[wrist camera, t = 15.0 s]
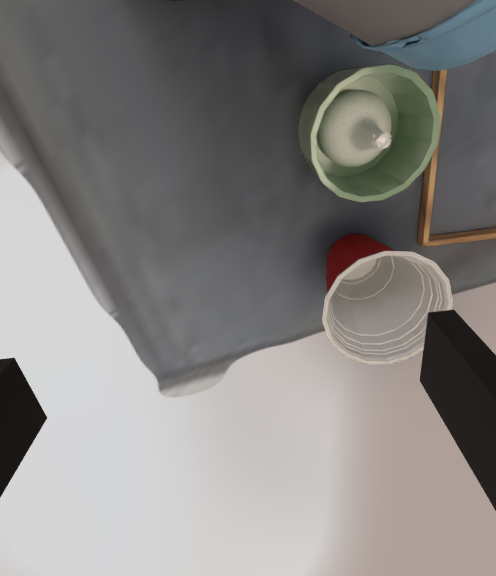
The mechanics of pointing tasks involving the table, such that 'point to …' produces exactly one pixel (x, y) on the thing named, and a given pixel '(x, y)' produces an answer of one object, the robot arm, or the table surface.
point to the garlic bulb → (355, 128)
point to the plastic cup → (380, 300)
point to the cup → (404, 130)
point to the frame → (429, 184)
